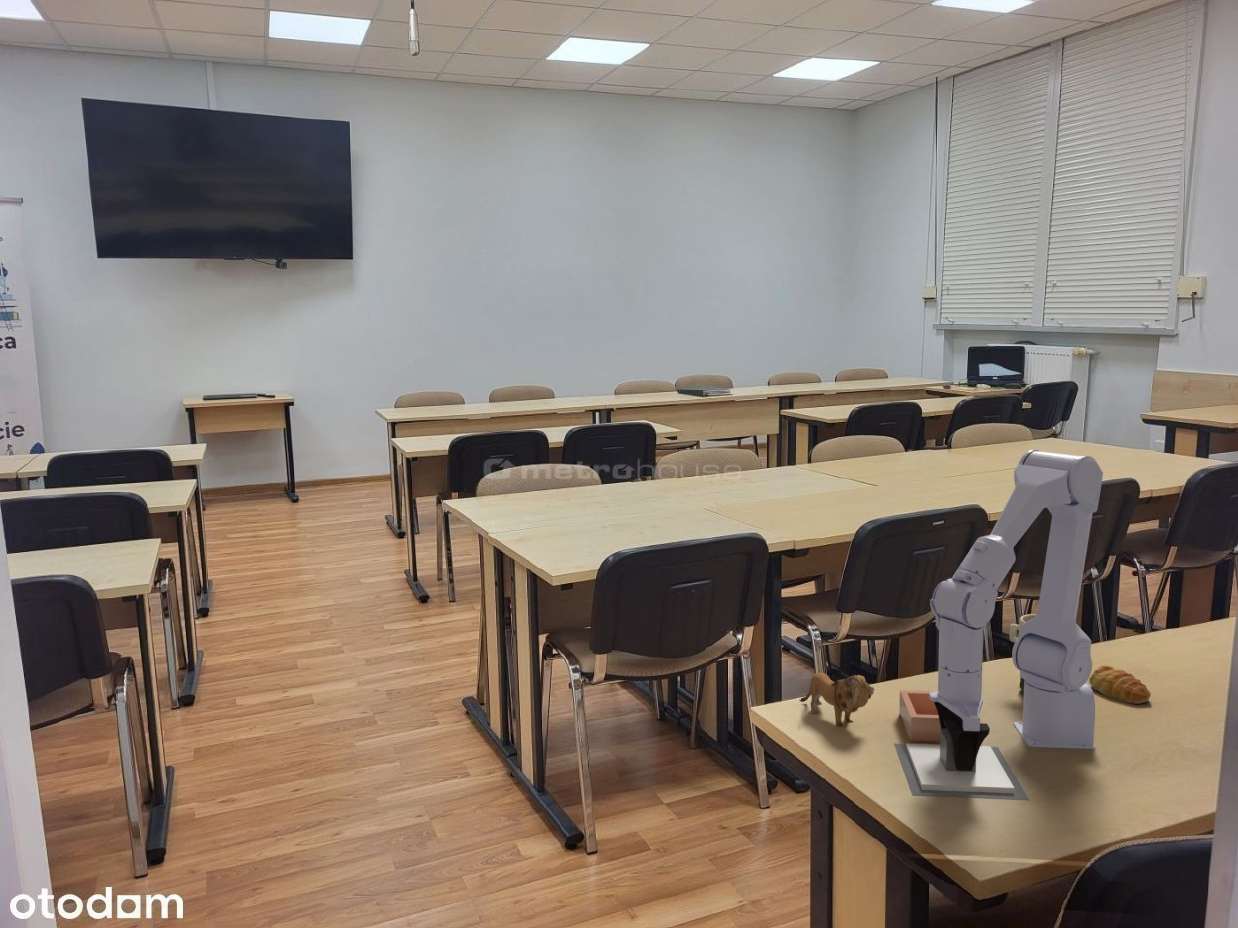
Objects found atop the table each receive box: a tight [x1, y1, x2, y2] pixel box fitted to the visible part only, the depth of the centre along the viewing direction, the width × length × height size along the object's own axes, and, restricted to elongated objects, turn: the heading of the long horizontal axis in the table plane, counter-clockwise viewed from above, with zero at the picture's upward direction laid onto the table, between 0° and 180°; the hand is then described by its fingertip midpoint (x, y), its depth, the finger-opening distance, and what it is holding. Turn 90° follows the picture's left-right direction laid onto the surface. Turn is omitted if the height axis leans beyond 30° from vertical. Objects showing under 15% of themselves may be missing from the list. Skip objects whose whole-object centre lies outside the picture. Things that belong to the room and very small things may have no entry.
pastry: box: [1088, 665, 1152, 705], centre depth 151 cm, size 9×7×4 cm
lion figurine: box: [798, 672, 875, 729], centre depth 145 cm, size 15×5×9 cm, turn 34°
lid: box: [905, 729, 1014, 793], centre depth 126 cm, size 12×12×5 cm
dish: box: [898, 689, 941, 745], centre depth 139 cm, size 10×10×4 cm
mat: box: [893, 743, 1030, 801], centre depth 127 cm, size 15×15×1 cm
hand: (957, 756), depth 126 cm, fingers open, 7 cm apart
